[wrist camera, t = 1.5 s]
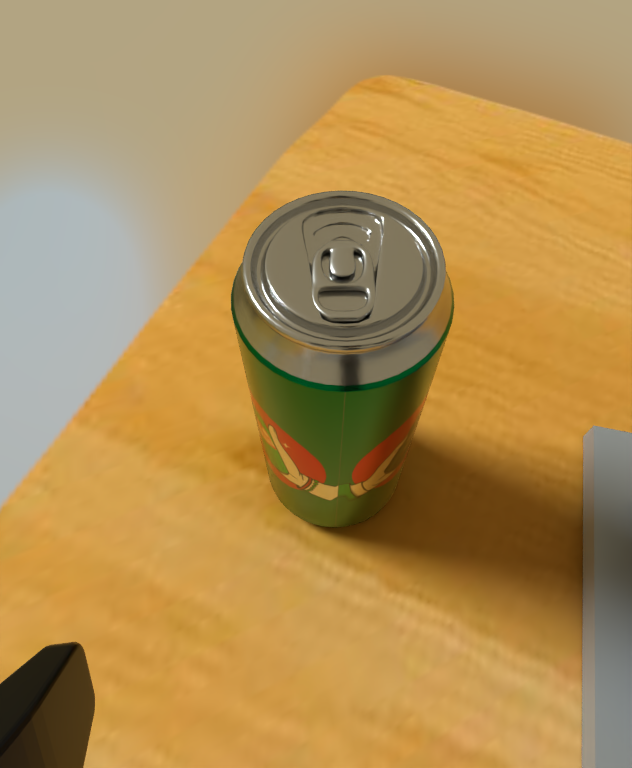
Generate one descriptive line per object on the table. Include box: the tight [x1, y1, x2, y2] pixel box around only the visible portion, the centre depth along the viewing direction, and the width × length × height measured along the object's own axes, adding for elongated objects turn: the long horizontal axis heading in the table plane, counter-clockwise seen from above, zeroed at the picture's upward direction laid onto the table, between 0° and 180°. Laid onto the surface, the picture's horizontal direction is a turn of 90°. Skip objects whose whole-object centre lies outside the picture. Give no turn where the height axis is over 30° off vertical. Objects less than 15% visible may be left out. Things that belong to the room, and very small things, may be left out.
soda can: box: [231, 191, 454, 527], centre depth 17 cm, size 5×5×12 cm
